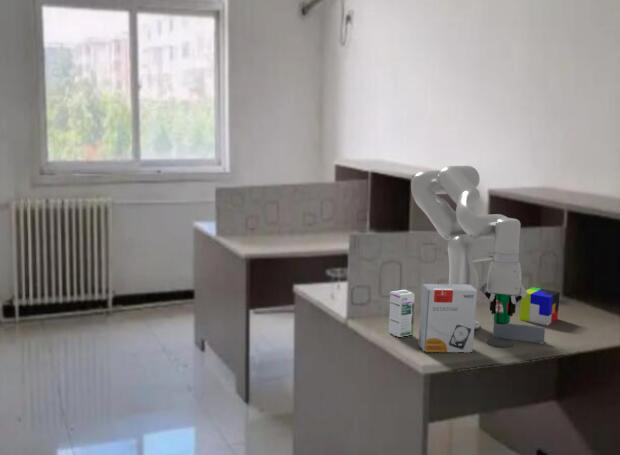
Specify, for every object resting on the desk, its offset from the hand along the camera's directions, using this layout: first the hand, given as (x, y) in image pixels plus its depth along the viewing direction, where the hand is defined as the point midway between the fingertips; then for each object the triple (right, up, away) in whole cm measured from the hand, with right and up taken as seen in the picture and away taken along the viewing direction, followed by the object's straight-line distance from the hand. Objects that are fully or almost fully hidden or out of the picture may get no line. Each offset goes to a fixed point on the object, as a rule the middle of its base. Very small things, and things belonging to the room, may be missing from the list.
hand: (502, 313), depth 239 cm
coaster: (0, -10, +2) cm, 10 cm away
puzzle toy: (+20, -6, +29) cm, 36 cm away
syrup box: (-31, -8, +8) cm, 33 cm away
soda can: (0, -3, 0) cm, 3 cm away
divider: (+7, -9, +6) cm, 13 cm away
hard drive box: (-19, -11, -5) cm, 22 cm away
